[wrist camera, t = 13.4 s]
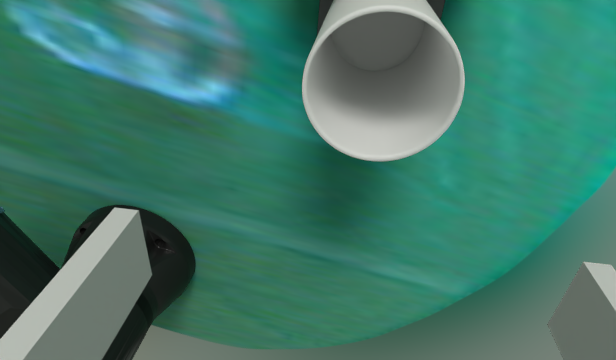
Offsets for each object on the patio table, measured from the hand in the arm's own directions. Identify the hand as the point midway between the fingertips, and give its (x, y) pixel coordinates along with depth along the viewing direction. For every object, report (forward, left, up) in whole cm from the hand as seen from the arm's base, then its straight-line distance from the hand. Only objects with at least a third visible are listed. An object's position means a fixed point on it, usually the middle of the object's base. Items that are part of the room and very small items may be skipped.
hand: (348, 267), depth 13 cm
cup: (+1, +2, -27) cm, 27 cm away
